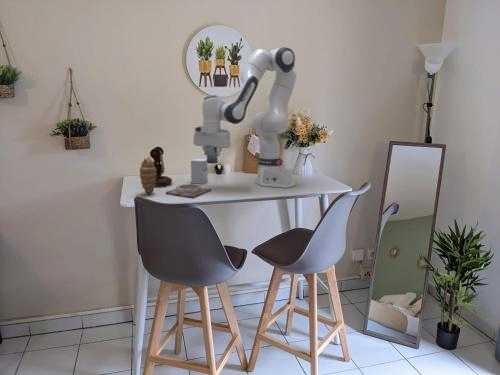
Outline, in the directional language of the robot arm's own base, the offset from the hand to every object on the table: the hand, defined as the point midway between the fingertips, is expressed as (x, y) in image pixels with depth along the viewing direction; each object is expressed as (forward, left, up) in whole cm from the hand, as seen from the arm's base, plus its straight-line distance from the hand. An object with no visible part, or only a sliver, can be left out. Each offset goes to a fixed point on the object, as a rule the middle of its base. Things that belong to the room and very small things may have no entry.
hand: (212, 155), depth 203 cm
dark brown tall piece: (+29, +8, -17) cm, 35 cm away
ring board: (+5, +14, -17) cm, 23 cm away
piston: (0, 0, -4) cm, 4 cm away
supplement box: (+13, -8, -17) cm, 23 cm away
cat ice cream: (+20, +26, -17) cm, 37 cm away
